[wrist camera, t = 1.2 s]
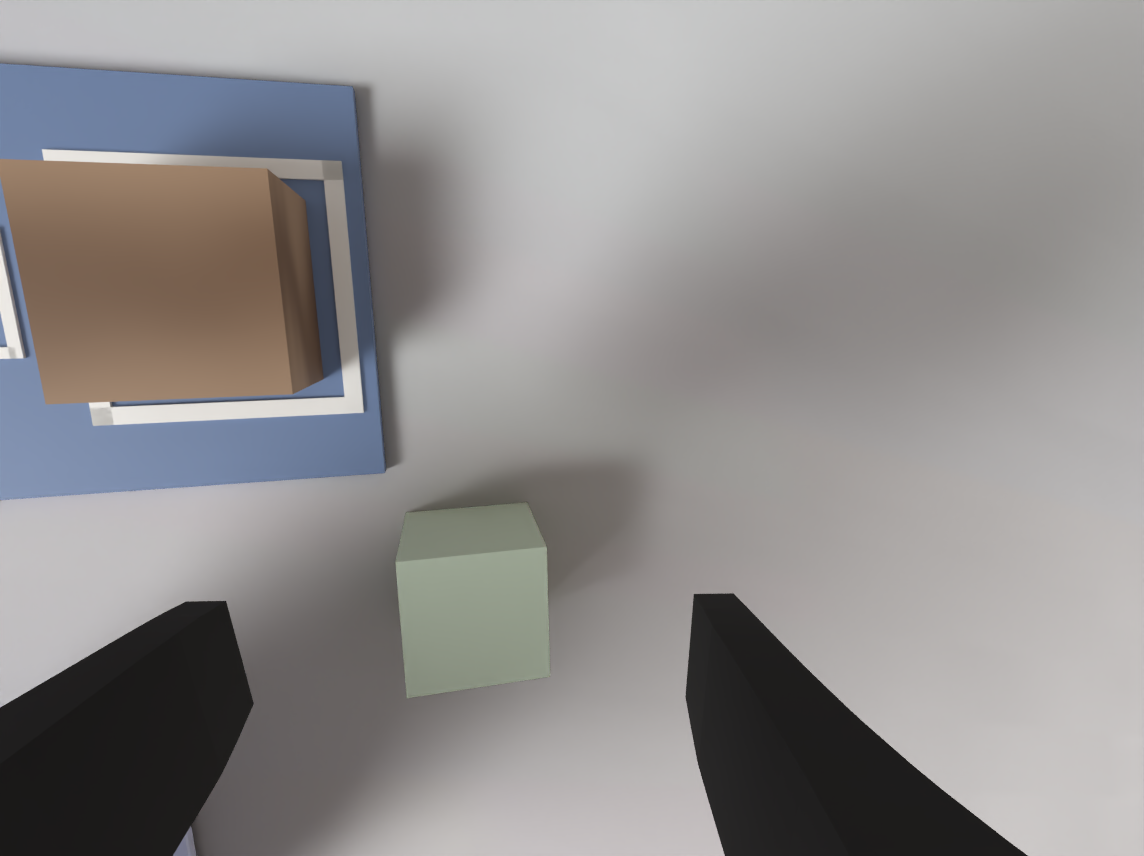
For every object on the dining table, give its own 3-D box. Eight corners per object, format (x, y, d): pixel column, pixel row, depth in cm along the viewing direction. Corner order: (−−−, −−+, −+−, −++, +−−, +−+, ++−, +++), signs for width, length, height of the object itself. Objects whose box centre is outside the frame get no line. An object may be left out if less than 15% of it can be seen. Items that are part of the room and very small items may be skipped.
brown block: (323, 379, 17) (292, 394, 13) (131, 386, 16) (45, 404, 12) (305, 200, 16) (267, 168, 12) (99, 195, 15) (-4, 158, 11)
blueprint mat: (386, 469, 18) (384, 473, 17) (-256, 513, 15) (-280, 520, 14) (354, 91, 16) (351, 84, 15) (-405, 43, 12) (-441, 32, 12)
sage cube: (530, 608, 20) (549, 676, 16) (414, 622, 19) (406, 698, 15) (526, 501, 19) (546, 546, 15) (406, 511, 18) (395, 562, 15)
